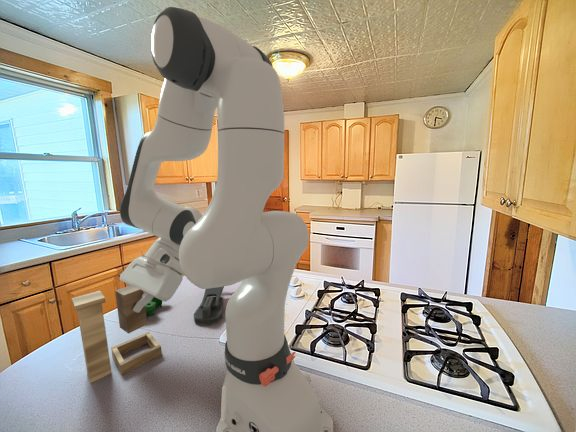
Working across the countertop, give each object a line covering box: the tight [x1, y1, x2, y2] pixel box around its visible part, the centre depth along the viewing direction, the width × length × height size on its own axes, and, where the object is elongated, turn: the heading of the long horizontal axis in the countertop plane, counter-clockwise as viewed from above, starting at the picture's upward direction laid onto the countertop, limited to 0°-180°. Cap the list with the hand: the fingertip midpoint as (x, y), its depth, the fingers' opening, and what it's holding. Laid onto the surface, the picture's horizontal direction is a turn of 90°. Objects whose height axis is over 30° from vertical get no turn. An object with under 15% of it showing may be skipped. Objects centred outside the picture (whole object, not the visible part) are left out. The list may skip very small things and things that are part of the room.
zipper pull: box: [193, 286, 225, 326], centre depth 90 cm, size 9×7×25 cm
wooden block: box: [114, 285, 148, 334], centre depth 63 cm, size 4×4×10 cm
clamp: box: [145, 297, 163, 316], centre depth 86 cm, size 12×6×9 cm, turn 173°
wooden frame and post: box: [71, 290, 163, 384], centre depth 61 cm, size 9×15×19 cm, turn 137°
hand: (128, 307), depth 62 cm, fingers closed on wooden block, 4 cm apart
